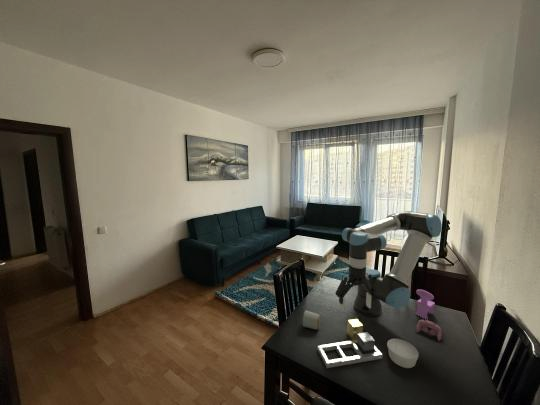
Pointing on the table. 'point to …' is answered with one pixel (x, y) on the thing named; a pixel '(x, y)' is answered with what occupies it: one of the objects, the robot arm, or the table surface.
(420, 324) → the video game controller
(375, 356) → the white flat slotted board
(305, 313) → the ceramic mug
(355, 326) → the yellow rectangular block
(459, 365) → the table surface
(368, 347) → the grey rectangular block
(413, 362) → the ramekin
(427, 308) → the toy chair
